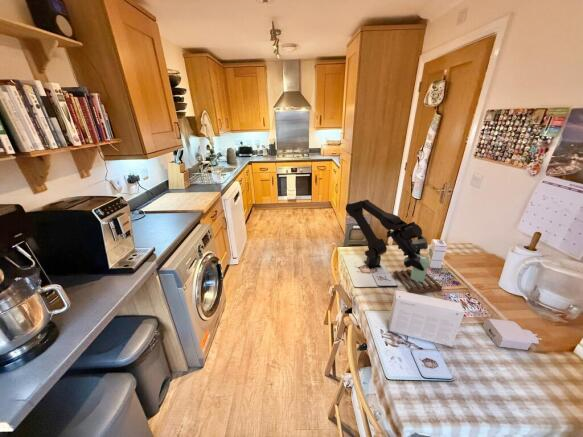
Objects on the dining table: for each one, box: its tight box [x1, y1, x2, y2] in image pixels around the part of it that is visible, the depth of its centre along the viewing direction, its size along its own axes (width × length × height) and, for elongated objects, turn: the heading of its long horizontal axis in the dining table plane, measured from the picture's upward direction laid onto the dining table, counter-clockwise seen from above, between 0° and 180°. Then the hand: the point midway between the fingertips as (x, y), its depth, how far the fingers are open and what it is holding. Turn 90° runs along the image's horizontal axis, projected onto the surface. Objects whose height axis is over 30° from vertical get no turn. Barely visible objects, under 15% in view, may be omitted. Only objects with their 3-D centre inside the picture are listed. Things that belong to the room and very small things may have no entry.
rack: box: [392, 268, 443, 295], centre depth 111 cm, size 16×14×3 cm
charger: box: [483, 318, 543, 351], centre depth 83 cm, size 5×9×15 cm
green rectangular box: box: [410, 254, 429, 283], centre depth 108 cm, size 6×6×12 cm
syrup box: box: [426, 238, 448, 269], centre depth 122 cm, size 6×6×14 cm
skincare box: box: [388, 289, 466, 348], centre depth 83 cm, size 21×5×16 cm, turn 71°
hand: (423, 267), depth 107 cm, fingers closed on green rectangular box, 5 cm apart
